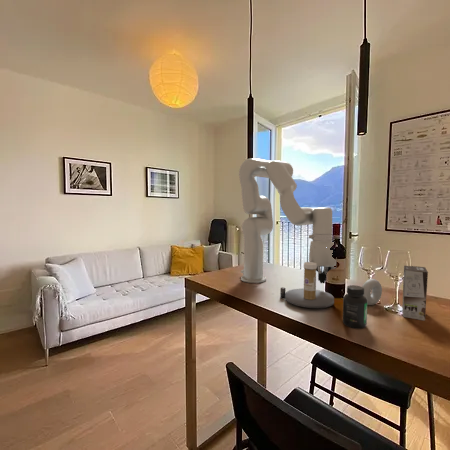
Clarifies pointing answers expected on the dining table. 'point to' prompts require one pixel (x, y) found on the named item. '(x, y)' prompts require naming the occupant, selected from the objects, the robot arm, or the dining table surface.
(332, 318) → the dining table surface
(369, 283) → the donut
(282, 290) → the stop dowel
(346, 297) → the supplement bottle
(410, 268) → the coffee box
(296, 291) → the turntable
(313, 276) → the sprinkles bottle
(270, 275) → the dining table surface
